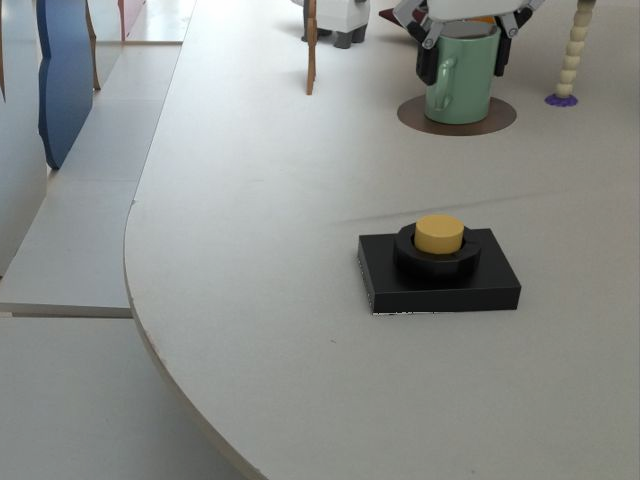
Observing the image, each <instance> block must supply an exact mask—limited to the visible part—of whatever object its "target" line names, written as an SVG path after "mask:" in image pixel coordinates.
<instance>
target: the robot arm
mask: <svg viewBox="0 0 640 480" xmlns="http://www.w3.org/2000/svg"><path fill="white" fill-rule="evenodd" d="M545 1H546V0H401V1H399V3H397V4H396V5H395V6H394V7H393V8H394V9H393V15H394V16H395V17H396V18H397V20H398V21H399V22H400V23H401V25H402V26H403V27H404V28H405V29H404V28H403V29H404V30H405V32H406V33H408V34H409V35H410V36H411V37H412V39H414V41H416V43H418V44H417V53H416V64H415V73H416V76H417V77H418V78H419V80H420V81H421V82H423V83H424V84H425V86H426V87H427V86H432V85H433V84H435V79H436V71H437V62H438V54H439V50H438V48H437V47H435V42H436V41H437V39H438V37H439V35H440V34H441V32H442V30H443V28H444V27H445V25H446V23H447V22H451V21H459V20H463V21H465V20H468V19H475V18H483V17H491V16H492V17H493V20H494V23H495V25H496V26H498V27H499V28H500V29H501V36H500V42H499V48H498V54H497V60H496V67H495V73H494V77H497V78H501V77H503V76H504V73H505V67H506V66H507V65H508V64H509V59H510V53H511V47H512V40H513V39H514V38H516V37H517V36H518V34H519V31H520V30H521V28H522V27H523V26H524V25H526V23H527V22H528V21H530V20H531V18H533V15H534V12H536V11H537V10H538V9H539V8H540V7H541V5H543V3H544V2H545ZM416 8H417V9H418V10H419V11H421V12H425V13H426V15H425V17H424V19H423V21H422V23H421V24H420V25H419V24H418V23H417V21H416V20H415V19H414V17H413V16H412V13H413V11H414V10H415V9H416Z"/></svg>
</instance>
